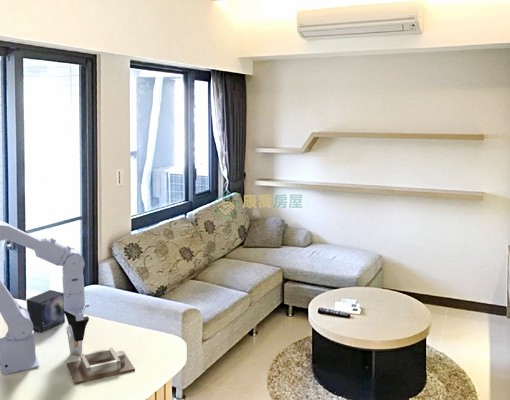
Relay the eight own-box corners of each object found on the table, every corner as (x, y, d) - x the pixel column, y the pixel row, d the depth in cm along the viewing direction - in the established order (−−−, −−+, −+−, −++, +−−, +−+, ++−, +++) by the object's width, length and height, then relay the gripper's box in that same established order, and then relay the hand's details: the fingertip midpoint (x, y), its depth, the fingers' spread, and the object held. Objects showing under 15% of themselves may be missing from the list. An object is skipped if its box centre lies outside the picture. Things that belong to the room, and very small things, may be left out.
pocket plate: (75, 384, 144) (74, 373, 143) (66, 365, 154) (66, 354, 153) (134, 370, 151) (134, 360, 150) (123, 353, 161) (122, 343, 161)
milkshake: (81, 357, 158) (80, 325, 156) (65, 356, 159) (63, 323, 157) (89, 350, 163) (87, 319, 161) (73, 349, 164) (71, 317, 162)
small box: (42, 334, 174) (39, 302, 172) (27, 330, 177) (24, 299, 175) (66, 322, 184) (64, 292, 182) (51, 318, 186) (49, 289, 184)
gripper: (93, 296, 153) (96, 342, 156) (83, 281, 166) (85, 323, 168) (67, 301, 150) (70, 347, 152) (58, 285, 162) (61, 328, 165)
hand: (76, 335), depth 160 cm, fingers open, 7 cm apart
